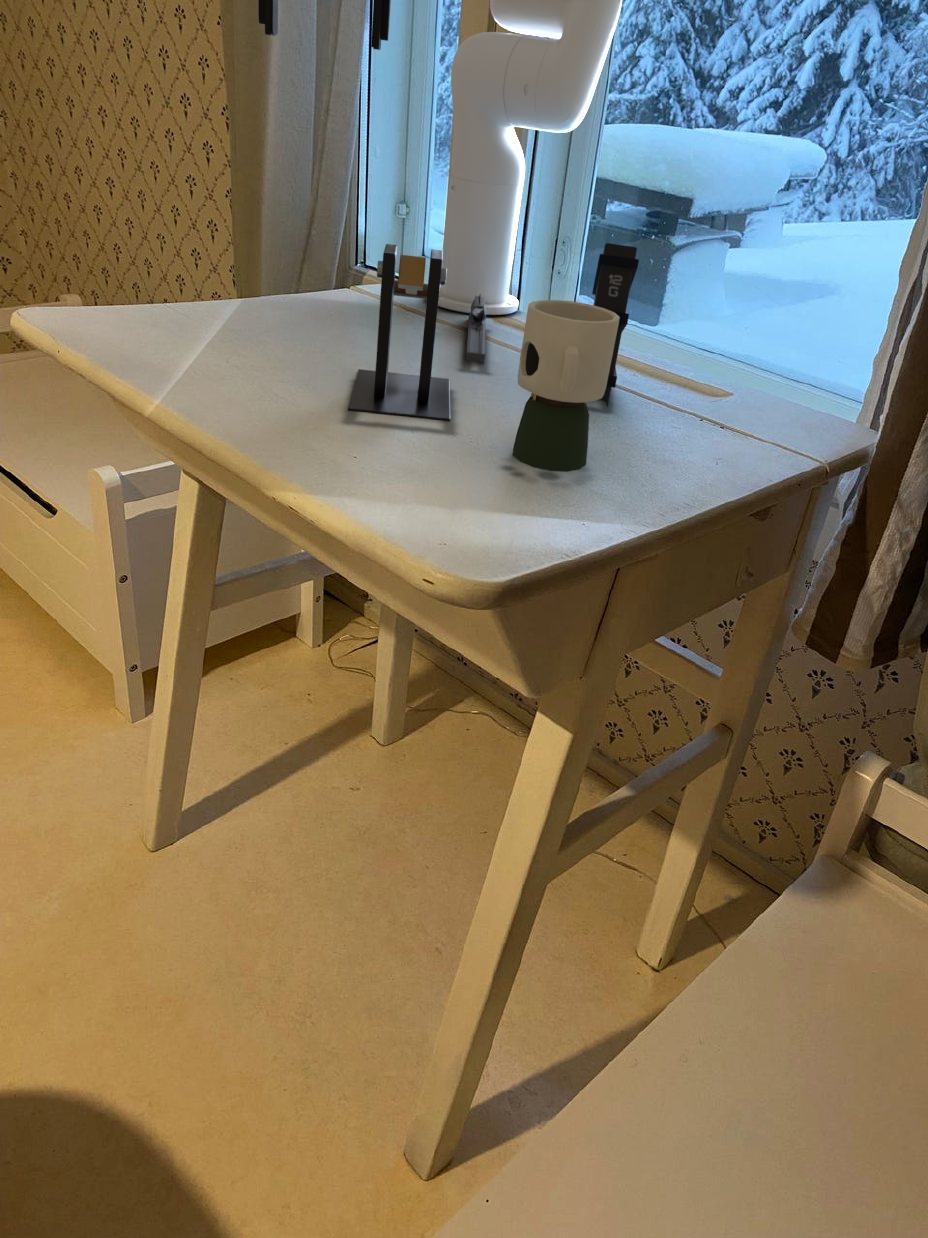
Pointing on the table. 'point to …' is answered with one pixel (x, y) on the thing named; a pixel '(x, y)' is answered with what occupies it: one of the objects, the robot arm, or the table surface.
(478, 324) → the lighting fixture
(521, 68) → the robot arm
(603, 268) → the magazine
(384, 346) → the stand
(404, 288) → the switch lever
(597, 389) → the character mug
